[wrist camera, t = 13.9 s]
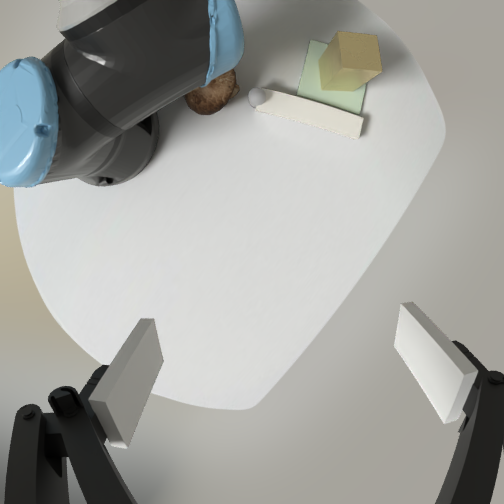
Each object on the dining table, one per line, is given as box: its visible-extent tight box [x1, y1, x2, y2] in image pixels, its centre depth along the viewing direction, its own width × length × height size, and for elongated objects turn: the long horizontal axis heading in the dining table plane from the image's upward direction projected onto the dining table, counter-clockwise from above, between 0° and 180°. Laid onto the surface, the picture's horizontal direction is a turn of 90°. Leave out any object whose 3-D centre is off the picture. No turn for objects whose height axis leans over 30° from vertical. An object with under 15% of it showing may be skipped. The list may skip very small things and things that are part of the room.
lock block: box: [318, 31, 382, 92], centre depth 31 cm, size 4×4×11 cm
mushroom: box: [184, 69, 240, 115], centre depth 36 cm, size 8×8×6 cm
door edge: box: [248, 88, 364, 139], centre depth 37 cm, size 15×3×3 cm, turn 76°
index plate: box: [297, 40, 367, 115], centre depth 37 cm, size 9×9×1 cm
